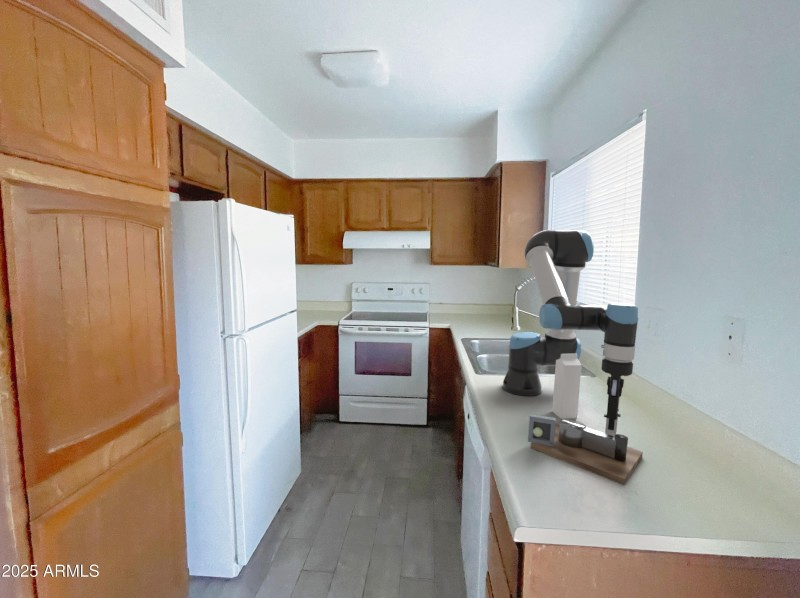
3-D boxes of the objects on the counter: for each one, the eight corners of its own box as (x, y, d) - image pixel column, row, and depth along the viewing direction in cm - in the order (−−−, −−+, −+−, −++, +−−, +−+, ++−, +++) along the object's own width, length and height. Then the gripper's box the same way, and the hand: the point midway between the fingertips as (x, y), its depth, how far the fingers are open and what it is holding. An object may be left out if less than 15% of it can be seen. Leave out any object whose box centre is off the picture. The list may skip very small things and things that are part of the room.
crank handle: (554, 440, 110) (555, 421, 109) (564, 432, 115) (565, 414, 114) (622, 465, 97) (624, 443, 97) (629, 455, 102) (631, 434, 102)
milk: (552, 411, 134) (555, 351, 132) (568, 411, 135) (572, 351, 132) (560, 419, 128) (565, 356, 126) (577, 418, 129) (582, 355, 126)
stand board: (556, 427, 122) (556, 422, 122) (642, 457, 105) (642, 450, 105) (530, 447, 109) (531, 441, 109) (624, 484, 92) (624, 477, 92)
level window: (528, 439, 111) (529, 413, 110) (553, 444, 108) (555, 418, 107) (527, 443, 108) (529, 417, 107) (553, 448, 106) (555, 422, 105)
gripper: (604, 351, 112) (598, 426, 115) (600, 361, 102) (592, 444, 105) (634, 355, 108) (626, 433, 111) (632, 366, 98) (624, 452, 101)
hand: (610, 438), depth 108 cm, fingers closed
